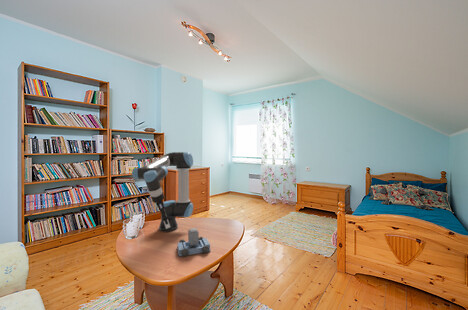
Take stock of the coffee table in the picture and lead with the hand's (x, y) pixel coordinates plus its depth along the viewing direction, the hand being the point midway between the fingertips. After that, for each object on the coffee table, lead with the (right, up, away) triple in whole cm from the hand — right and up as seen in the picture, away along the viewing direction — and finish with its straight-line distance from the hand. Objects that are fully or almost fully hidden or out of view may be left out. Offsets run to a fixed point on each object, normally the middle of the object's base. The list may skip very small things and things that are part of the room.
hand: (166, 222), depth 139 cm
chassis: (+17, -18, +2) cm, 25 cm away
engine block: (+17, -17, +2) cm, 25 cm away
